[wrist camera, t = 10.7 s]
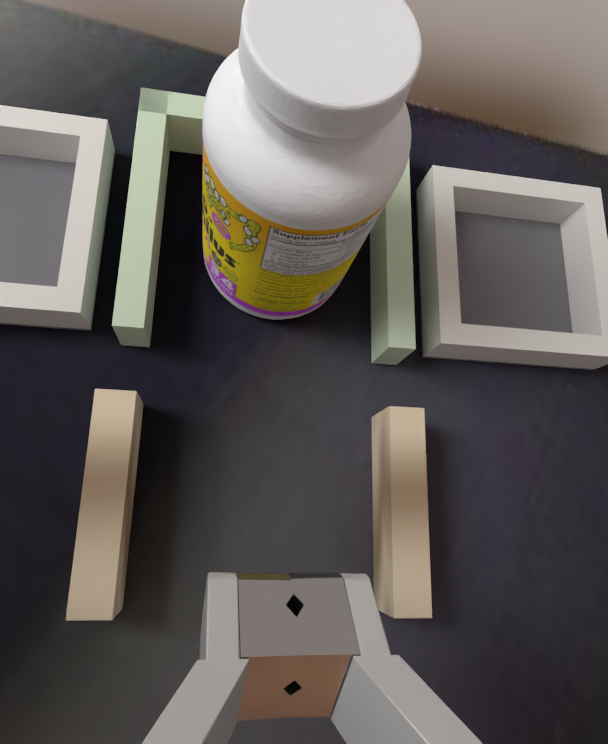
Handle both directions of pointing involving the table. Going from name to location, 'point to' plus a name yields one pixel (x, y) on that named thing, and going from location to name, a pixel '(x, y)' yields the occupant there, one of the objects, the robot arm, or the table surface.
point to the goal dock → (145, 217)
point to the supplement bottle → (303, 146)
